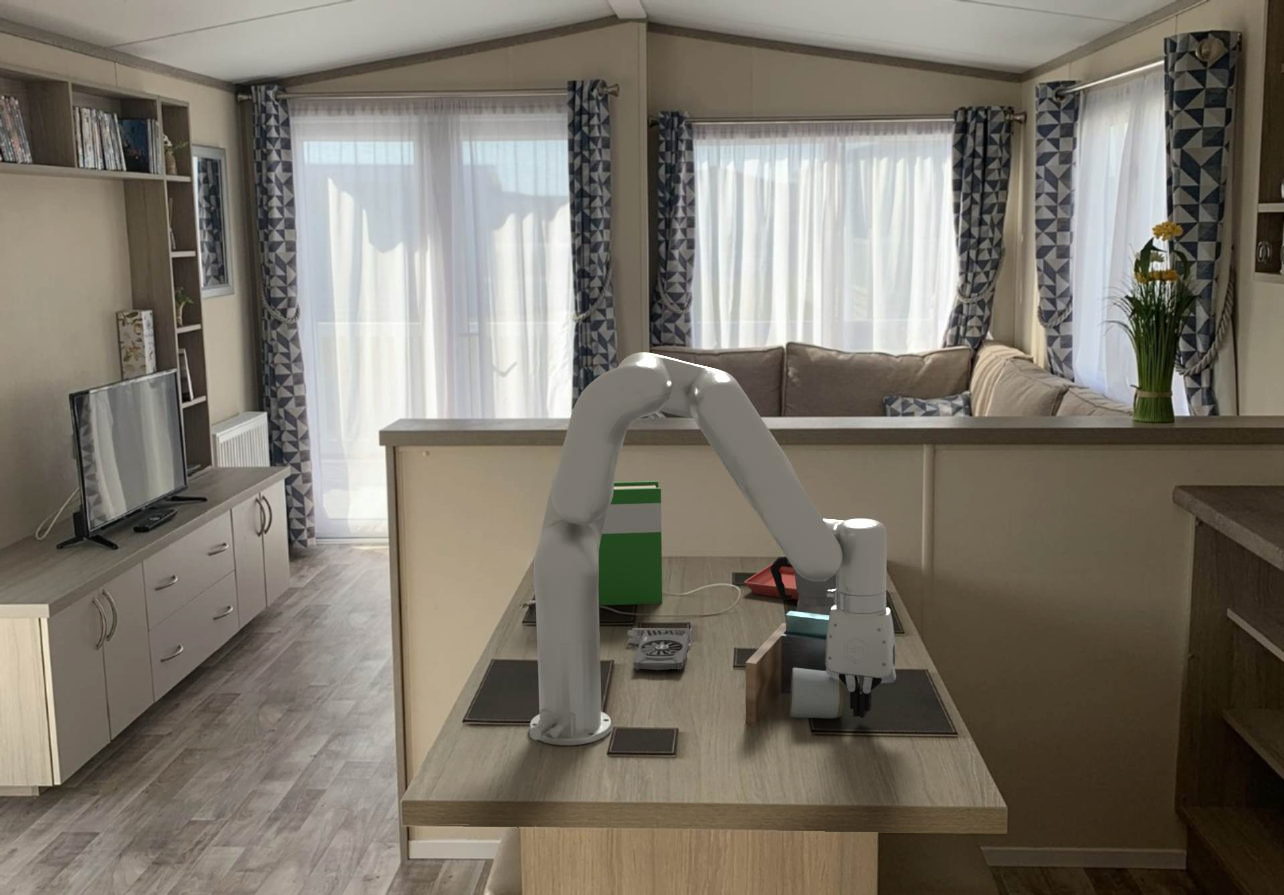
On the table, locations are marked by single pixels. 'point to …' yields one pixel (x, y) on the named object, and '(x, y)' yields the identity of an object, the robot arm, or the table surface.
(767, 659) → the wooden board
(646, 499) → the hardback book
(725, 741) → the table surface
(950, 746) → the table surface
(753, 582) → the plant saucer
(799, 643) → the bookend and books
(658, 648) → the graphics card
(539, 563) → the robot arm
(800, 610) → the coffeepot
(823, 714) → the ceramic mug
